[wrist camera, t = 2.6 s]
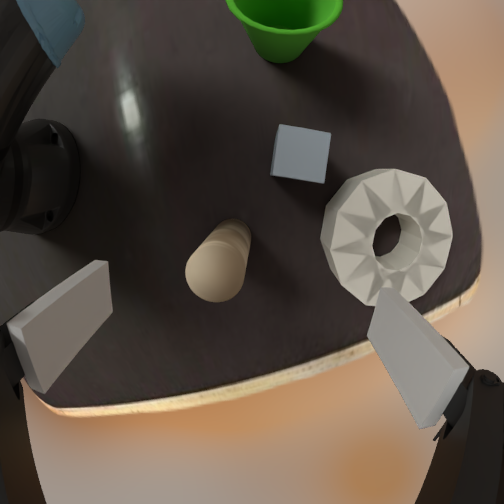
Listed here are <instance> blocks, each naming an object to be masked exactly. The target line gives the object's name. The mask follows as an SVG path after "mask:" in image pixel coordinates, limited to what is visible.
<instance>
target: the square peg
mask: <svg viewBox="0 0 504 504" xmlns="http://www.w3.org/2000/svg"><path fill="white" fill-rule="evenodd" d="M330 138H331V133H326V132H321V131H316V130H311V129H306V128H300V127H294V126H288V125H282V124H280V125H279V128H278V131H277V134H276V137H275V144H274V151H273V158H272V165H271V172H270V175H272V176H279V177H285V178H291V179H298V180H304V181H310V182H317V183H324V181H325V174H326V167H327V160H328V153H329V145H330Z"/></svg>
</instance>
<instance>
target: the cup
mask: <svg viewBox="0 0 504 504" xmlns="http://www.w3.org/2000/svg"><path fill="white" fill-rule="evenodd" d="M226 3H227V5H228V7H229V10H230V11H231V12H232V13H233V14H234V15H235V16H236V18H237V19H239V20H240V21H241V23H242V24H243V26H244V28H245V30H246V32H247V34H248V36H249V38H250V40H251V42H252V44H253V45H254V47H255V49H256V51H257V53H258V54H259V55H260V56H261V57H262V58H264V59H265V60H268V61H270V62H274V63H287V62H290V61H293V60H294V59H296V58H297V57H298V56H299V55H300V54H301V53H302V52H303V51H304V49H305V48H306V47H307V46H308V45H309V44H310V43H311V41H312V40H313V39H314V38H315V37H316V36H317V35H318V33H319V32H320V31H321V30H323V29H325V28H327V27H329V26H330V25H332V24H333V23H334V22H335V21H336V20H337V19H338V18H339V16H340V13H341V11H342V9H343V0H226Z"/></svg>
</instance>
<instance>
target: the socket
mask: <svg viewBox="0 0 504 504" xmlns="http://www.w3.org/2000/svg"><path fill="white" fill-rule="evenodd" d="M394 214H395V215H396V216H397V217H398V219H399V223H400V226H401V234H400V239H399V242H398V244H397V245H396V246H395V248H394V249H393V250H392V251H391V252H390V253H388V254H385V255H383V256H380V257H379V256H375V254H374V250H373V247H372V244H373V240H374V235H375V230H376V229H377V228H378V226H379V225H380V224H381V223H382V221H383V220H384V219H385V218H387V217H389V216H392V215H394ZM452 237H453V234H452V228H451V223H450V217H449V212H448V208H447V203H446V202H445V200H444V199H443V198H442V197H441V195H440V194H439V193H438V192H437V190H436V189H435V188H434V187H433V186H432V184H431V183H430V182H429V181H428V180H427V179H426V178H425V177H421V176H418V175H415V174H411V173H408V172H404V171H401V170H397V169H375V170H372V171H369V172H366V173H363V174H361V175H358V176H355V177H352V178H350V179H347V180H346V181H345V182H344V184H343V185H342V186H341V187H340V189H339V190H338V191H337V192H336V194H335V195H334V196H333V197H332V199H331V200H330V201H329V202H328V204H327V205H326V208H325V214H324V219H323V225H322V231H321V236H320V240H321V243H322V246H323V249H324V252H325V255H326V258H327V261H328V264H329V267H330V269H331V271H332V272H333V274H334V275H335V276H336V278H337V279H338V281H339V282H340V284H341V285H342V286H343V287H344V288H345V289H347V290H348V291H349V292H350V293H352V294H353V295H354V296H355V297H356V298H358V299H359V300H360V301H361V302H362V303H364V304H365V305H368V306H376V302H377V299H378V295H379V291H380V287H388V288H394V289H395V290H396V291H397V292H399V293H400V294H401V295H402V296H403V297H404V298H405V299H406V300H407V301H408V302H410V301H412V300H414V299H416V298H418V297H420V296H422V295H424V294H425V293H426V292H427V290H428V289H429V288H430V287H431V285H432V284H433V283H434V282H435V280H436V279H437V278H438V277H439V275H440V274H441V273H442V271H443V270H444V269H445V265H446V262H447V258H448V254H449V250H450V246H451V241H452Z"/></svg>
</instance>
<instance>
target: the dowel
mask: <svg viewBox="0 0 504 504" xmlns="http://www.w3.org/2000/svg"><path fill="white" fill-rule="evenodd" d="M250 244H251V232H250V229H249V228H248V226H247V225H246V224H245V223H244V222H242V221H241V220H238V219H226V220H224V221H222V222H221V223H220V224H219V225H218V226H217V227H216V228H215V229H214V230H213V231H212V233H211V234H210V235H209V236H208V237H207V238H206V239H205V240H204V242H203V243H202V244H201V245H200V246H199V247H198V249H197V250H196V251H195V252H194V253H193V254H192V256H191V257H190V258H189V260H188V262H187V265H186V270H185V275H186V280H187V283H188V285H189V287H190V288H191V290H192V291H193V292H194V293H195V294H196V295H197V296H199V297H200V298H202V299H204V300H206V301H210V302H223V301H227V300H229V299H231V298H233V297H234V296H235V295H236V294H237V293H238V292H239V291H240V289H241V287H242V285H243V282H244V277H245V271H246V266H247V260H248V255H249V249H250Z"/></svg>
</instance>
